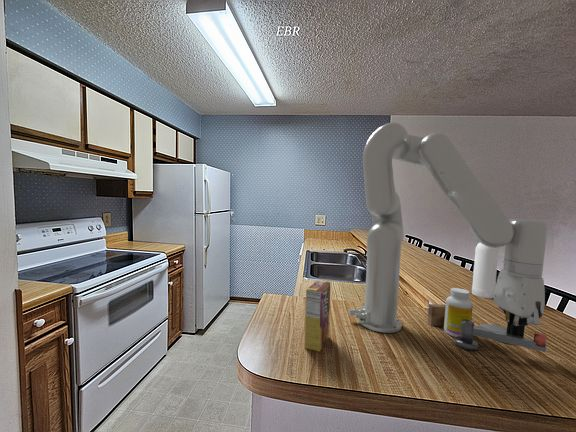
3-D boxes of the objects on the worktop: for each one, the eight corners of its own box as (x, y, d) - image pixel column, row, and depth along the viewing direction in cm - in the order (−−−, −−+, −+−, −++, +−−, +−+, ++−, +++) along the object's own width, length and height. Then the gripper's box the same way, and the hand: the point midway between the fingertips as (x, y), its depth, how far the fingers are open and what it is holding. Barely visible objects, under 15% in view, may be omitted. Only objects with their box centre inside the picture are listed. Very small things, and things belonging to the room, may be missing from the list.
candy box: (314, 333, 77) (317, 279, 77) (329, 336, 76) (332, 282, 75) (303, 348, 69) (305, 288, 68) (319, 352, 68) (322, 291, 67)
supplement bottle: (474, 340, 77) (478, 295, 76) (448, 337, 78) (451, 293, 77) (464, 329, 83) (467, 288, 83) (440, 327, 85) (443, 285, 84)
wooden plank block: (430, 325, 85) (432, 306, 85) (427, 322, 87) (428, 304, 87) (468, 326, 86) (470, 307, 85) (464, 323, 88) (466, 305, 87)
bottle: (467, 292, 119) (472, 223, 117) (480, 291, 122) (486, 223, 120) (485, 299, 112) (491, 225, 110) (499, 298, 114) (505, 225, 112)
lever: (454, 346, 73) (456, 319, 72) (454, 338, 77) (456, 313, 77) (547, 370, 64) (550, 340, 63) (540, 359, 68) (543, 331, 68)
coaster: (496, 343, 75) (496, 341, 75) (468, 325, 86) (469, 323, 86) (535, 345, 76) (535, 342, 76) (503, 326, 87) (503, 324, 87)
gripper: (485, 260, 77) (478, 325, 78) (535, 276, 62) (526, 355, 63) (511, 261, 77) (504, 325, 78) (567, 277, 62) (558, 356, 63)
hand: (514, 338), depth 71 cm, fingers closed
